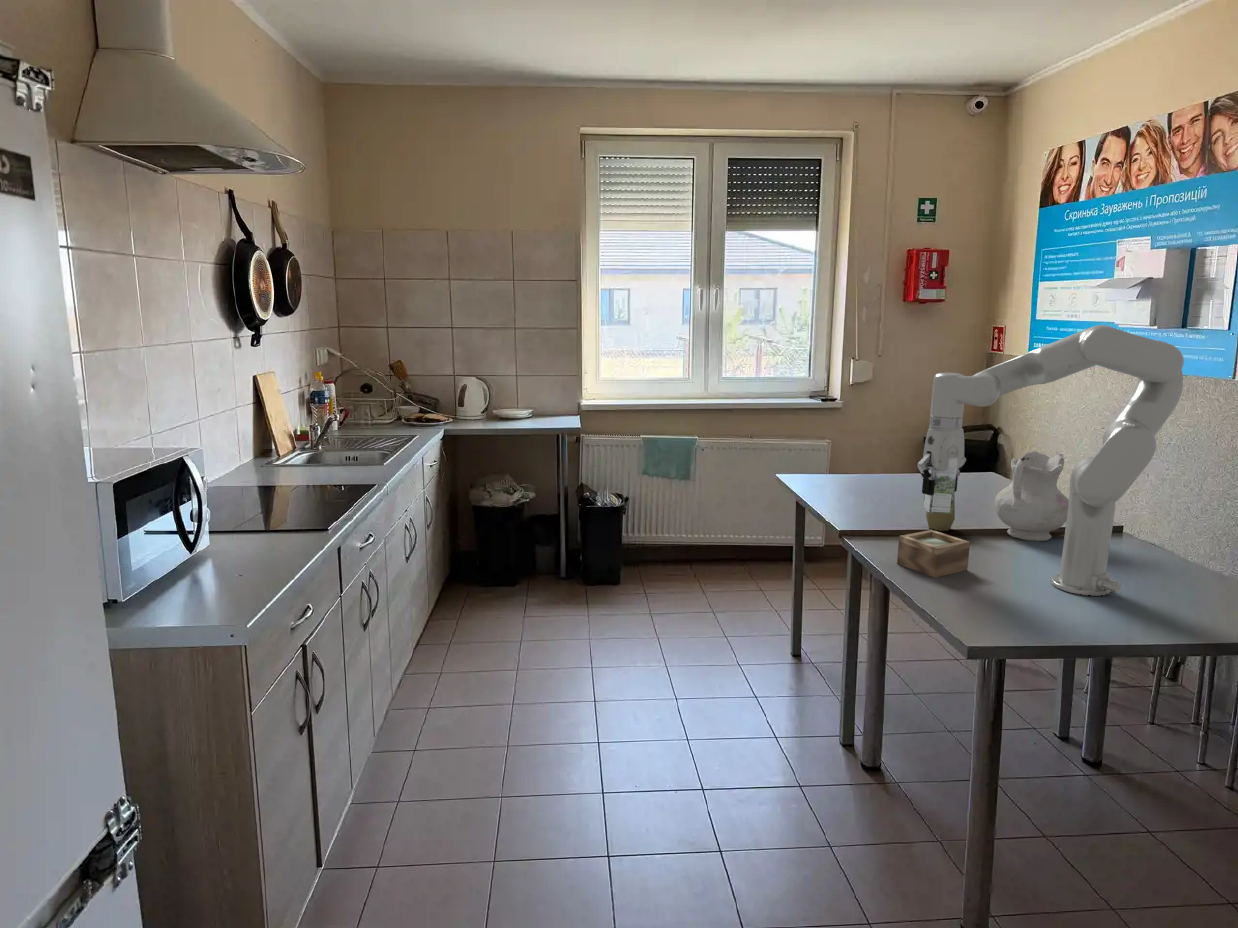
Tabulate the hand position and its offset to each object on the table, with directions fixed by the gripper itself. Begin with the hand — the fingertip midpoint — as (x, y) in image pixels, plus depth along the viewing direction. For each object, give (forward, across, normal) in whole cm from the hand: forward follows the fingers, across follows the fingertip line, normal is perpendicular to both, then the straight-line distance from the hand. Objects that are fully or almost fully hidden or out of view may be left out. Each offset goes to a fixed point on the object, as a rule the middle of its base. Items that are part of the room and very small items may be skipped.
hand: (939, 492), depth 206 cm
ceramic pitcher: (+20, +47, +6) cm, 52 cm away
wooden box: (+20, 0, 0) cm, 20 cm away
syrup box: (+5, 0, 0) cm, 5 cm away
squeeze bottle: (+20, +30, +23) cm, 43 cm away
